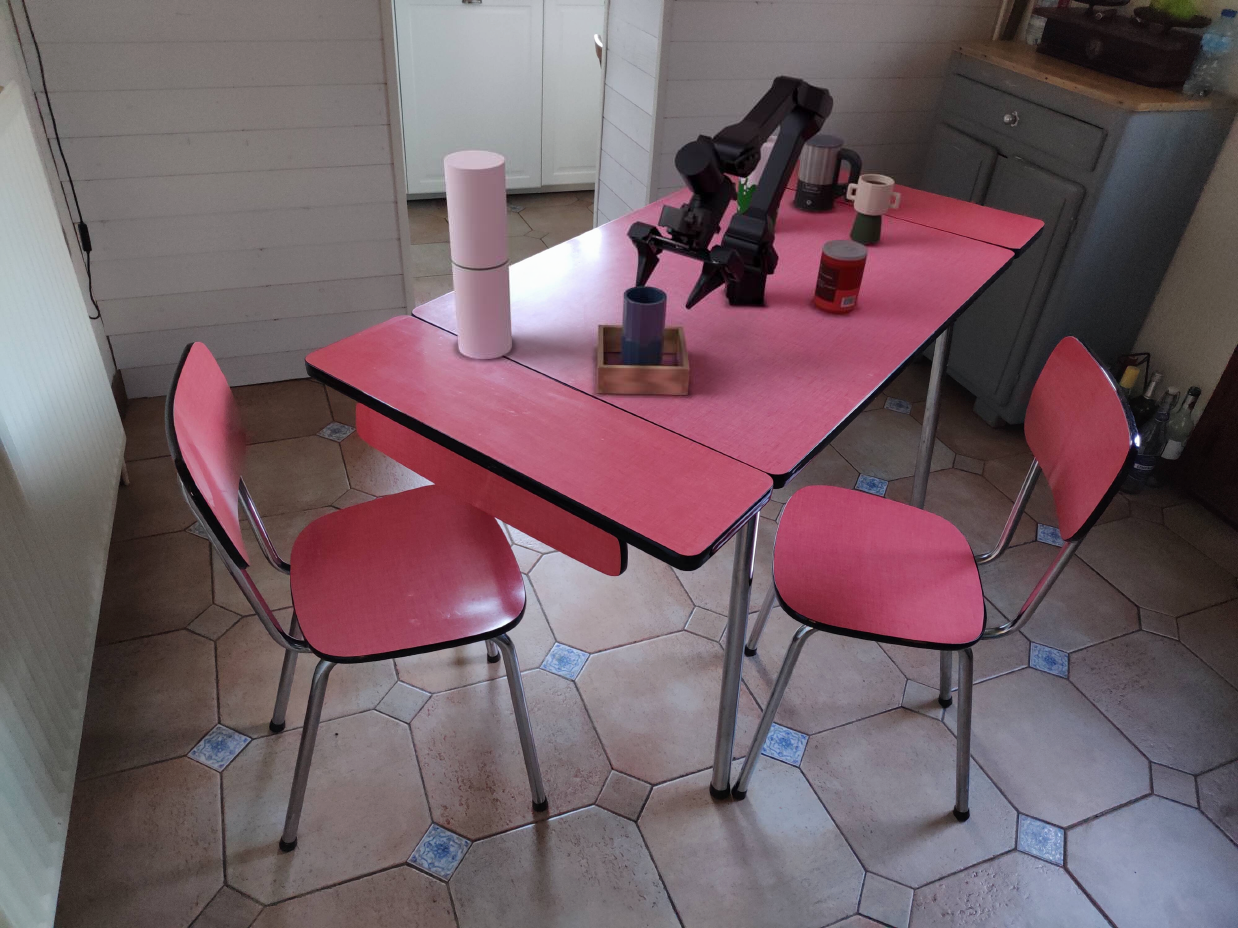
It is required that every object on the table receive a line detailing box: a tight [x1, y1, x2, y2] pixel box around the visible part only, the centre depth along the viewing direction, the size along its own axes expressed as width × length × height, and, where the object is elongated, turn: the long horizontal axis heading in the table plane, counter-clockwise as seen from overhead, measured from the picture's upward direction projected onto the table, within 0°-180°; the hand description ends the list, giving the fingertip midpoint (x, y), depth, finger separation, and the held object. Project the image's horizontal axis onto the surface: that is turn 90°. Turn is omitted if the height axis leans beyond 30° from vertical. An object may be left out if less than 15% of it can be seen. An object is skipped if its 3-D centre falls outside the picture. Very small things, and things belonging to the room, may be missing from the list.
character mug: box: [847, 173, 902, 245], centre depth 182 cm, size 11×7×13 cm, turn 61°
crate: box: [596, 324, 691, 396], centre depth 138 cm, size 14×14×4 cm
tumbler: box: [620, 285, 668, 366], centre depth 135 cm, size 6×6×13 cm
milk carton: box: [736, 135, 781, 229], centre depth 185 cm, size 9×9×20 cm
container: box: [443, 149, 513, 360], centre depth 135 cm, size 9×9×30 cm
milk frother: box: [792, 133, 863, 213], centre depth 200 cm, size 14×16×15 cm
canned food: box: [813, 239, 869, 316], centre depth 157 cm, size 8×8×11 cm
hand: (661, 299), depth 136 cm, fingers open, 9 cm apart
